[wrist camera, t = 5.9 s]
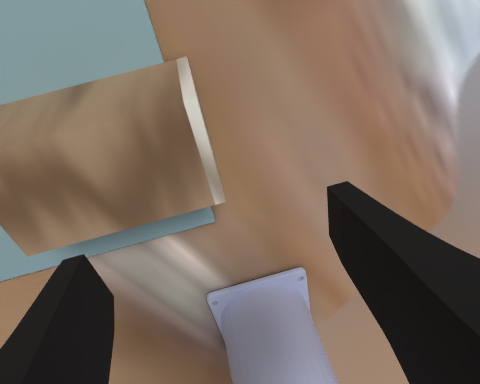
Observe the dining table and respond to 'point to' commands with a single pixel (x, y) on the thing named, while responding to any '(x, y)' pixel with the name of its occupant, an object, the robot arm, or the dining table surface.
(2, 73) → the mat
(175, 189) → the walnut block
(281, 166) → the dining table surface
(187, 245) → the dining table surface
